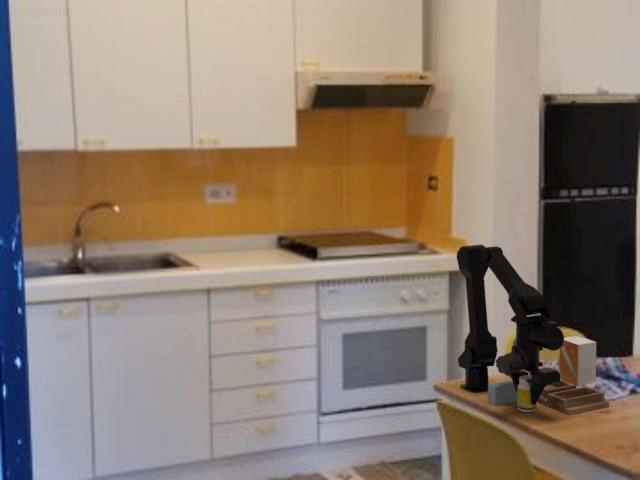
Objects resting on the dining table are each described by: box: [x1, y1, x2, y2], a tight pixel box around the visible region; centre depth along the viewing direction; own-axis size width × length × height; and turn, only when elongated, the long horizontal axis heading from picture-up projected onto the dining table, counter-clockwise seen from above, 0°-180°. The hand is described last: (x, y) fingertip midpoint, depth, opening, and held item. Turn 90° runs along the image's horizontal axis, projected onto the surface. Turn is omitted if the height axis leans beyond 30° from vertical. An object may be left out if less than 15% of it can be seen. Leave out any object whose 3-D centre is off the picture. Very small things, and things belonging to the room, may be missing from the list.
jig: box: [537, 380, 610, 416], centre depth 233 cm, size 20×13×3 cm, turn 26°
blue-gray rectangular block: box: [487, 379, 518, 406], centre depth 234 cm, size 3×9×5 cm, turn 115°
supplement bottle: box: [517, 375, 538, 413], centre depth 225 cm, size 5×5×8 cm
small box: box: [558, 335, 597, 387], centre depth 245 cm, size 8×6×13 cm
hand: (527, 401), depth 226 cm, fingers closed on supplement bottle, 5 cm apart
